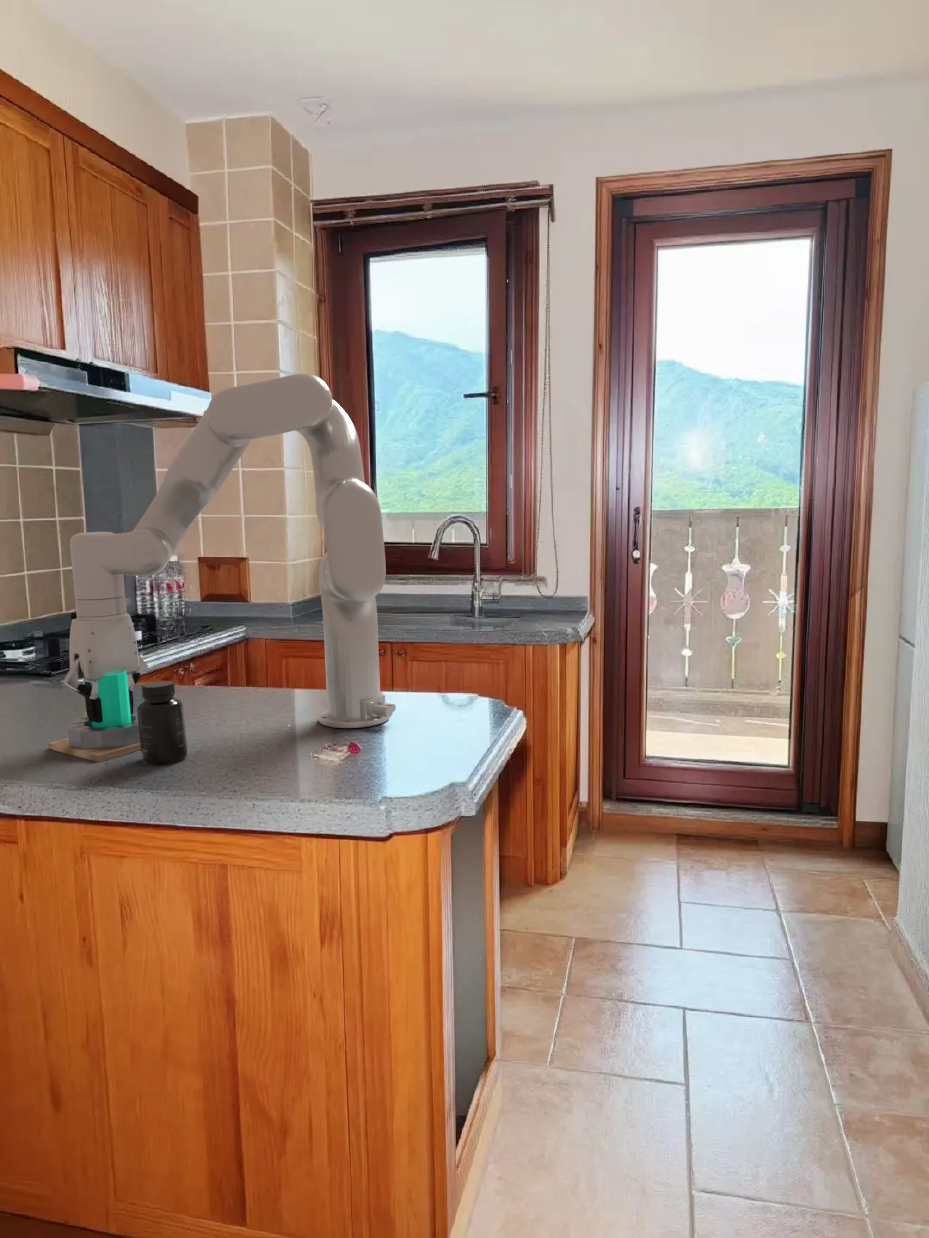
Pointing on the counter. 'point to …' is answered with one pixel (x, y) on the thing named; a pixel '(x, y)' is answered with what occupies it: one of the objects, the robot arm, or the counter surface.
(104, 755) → the oak board
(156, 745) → the supplement bottle
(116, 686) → the candle
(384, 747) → the counter surface
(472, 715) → the counter surface
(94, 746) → the steel collar
